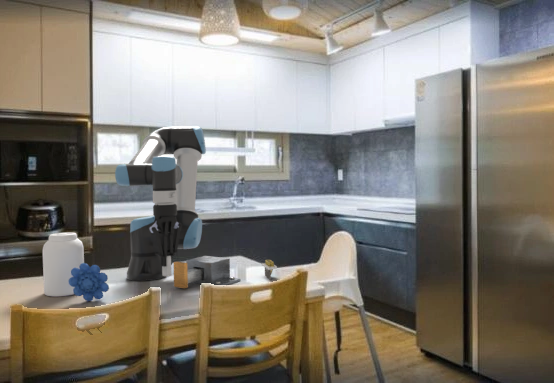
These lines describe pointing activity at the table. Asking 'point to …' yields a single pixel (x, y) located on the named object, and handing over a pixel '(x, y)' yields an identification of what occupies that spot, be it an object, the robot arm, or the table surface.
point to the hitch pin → (186, 274)
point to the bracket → (213, 270)
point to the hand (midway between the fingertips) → (166, 275)
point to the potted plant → (269, 268)
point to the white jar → (61, 262)
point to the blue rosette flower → (88, 282)
